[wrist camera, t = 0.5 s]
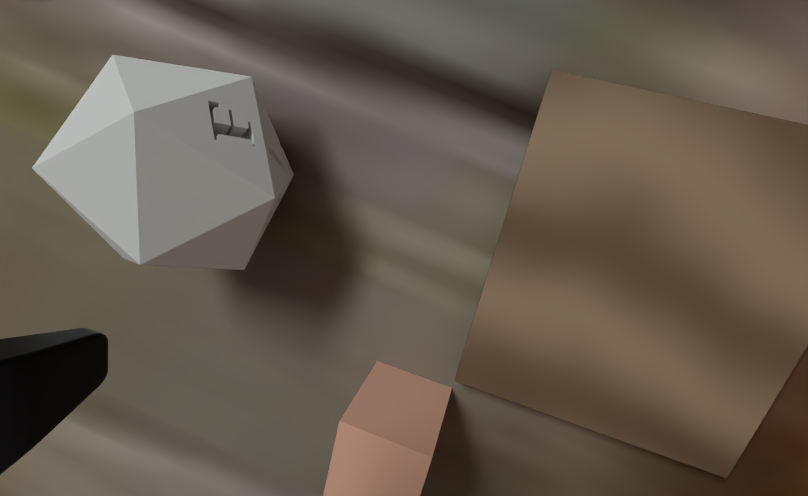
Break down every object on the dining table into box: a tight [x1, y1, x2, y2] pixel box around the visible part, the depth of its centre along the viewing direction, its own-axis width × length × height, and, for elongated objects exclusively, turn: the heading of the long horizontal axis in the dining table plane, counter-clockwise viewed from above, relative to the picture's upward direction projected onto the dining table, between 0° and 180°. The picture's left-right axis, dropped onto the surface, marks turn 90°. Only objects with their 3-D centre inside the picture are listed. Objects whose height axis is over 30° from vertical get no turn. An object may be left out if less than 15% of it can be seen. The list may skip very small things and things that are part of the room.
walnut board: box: [455, 70, 808, 478], centre depth 18 cm, size 14×12×1 cm
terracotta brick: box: [323, 361, 452, 496], centre depth 21 cm, size 6×4×5 cm, turn 167°
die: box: [32, 55, 294, 270], centre depth 18 cm, size 8×9×10 cm
